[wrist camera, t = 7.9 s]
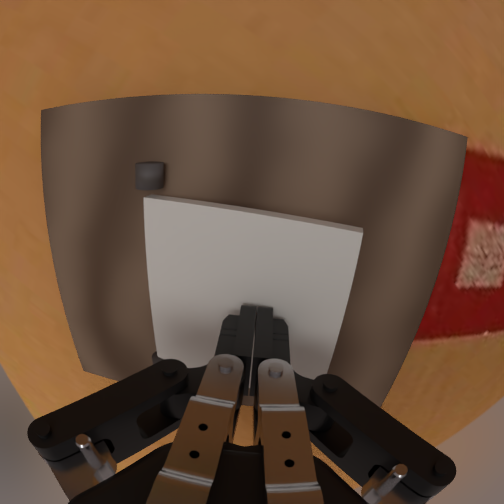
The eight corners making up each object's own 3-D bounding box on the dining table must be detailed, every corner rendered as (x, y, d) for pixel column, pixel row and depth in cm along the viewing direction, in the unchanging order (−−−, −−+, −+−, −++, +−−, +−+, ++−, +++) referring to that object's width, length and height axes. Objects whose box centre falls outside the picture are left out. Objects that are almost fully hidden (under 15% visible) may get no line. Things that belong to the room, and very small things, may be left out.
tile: (143, 197, 14) (155, 193, 15) (157, 356, 18) (165, 347, 19) (363, 233, 11) (362, 226, 12) (316, 404, 15) (319, 392, 16)
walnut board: (453, 135, 14) (481, 139, 11) (375, 396, 22) (381, 423, 19) (55, 109, 15) (26, 111, 12) (91, 359, 23) (76, 381, 20)
